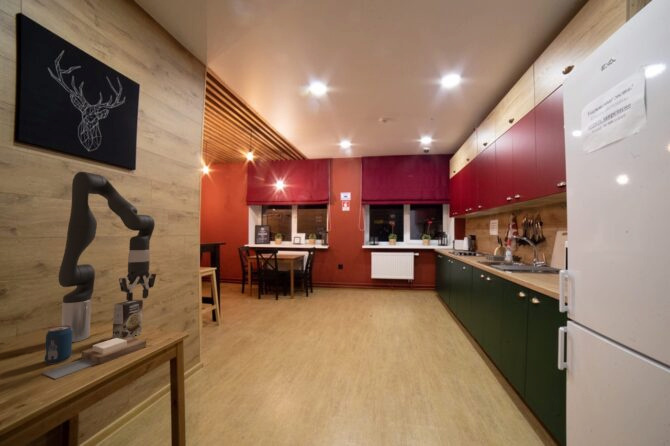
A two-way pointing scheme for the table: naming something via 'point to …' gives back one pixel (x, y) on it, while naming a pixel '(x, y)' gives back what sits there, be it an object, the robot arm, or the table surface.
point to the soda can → (58, 344)
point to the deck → (114, 351)
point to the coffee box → (127, 319)
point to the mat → (69, 368)
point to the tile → (109, 345)
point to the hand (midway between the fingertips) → (137, 299)
